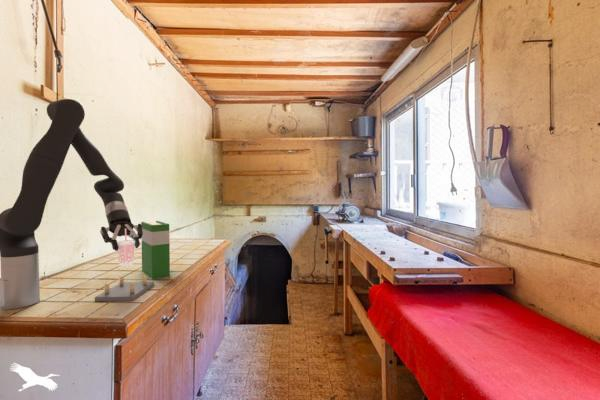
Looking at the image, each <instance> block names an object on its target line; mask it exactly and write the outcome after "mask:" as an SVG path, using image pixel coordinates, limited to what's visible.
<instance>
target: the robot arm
mask: <svg viewBox="0 0 600 400" xmlns="http://www.w3.org/2000/svg"><path fill="white" fill-rule="evenodd" d="M85 114H86V113H85V109H84V107H83V105H82V104H81V103H80V102H79V101H77V100H76V99H71V98H62V99H59V100H54V101H52V102H50V103H49V104H48V105H47V107H46V115H47V116H48V118H49V119H50V120H51V123H50V126H49V127H48V130H47V131H46V133H45V134H44V135H43V136H42V137H41V138H40V139H39V140H38V142H37V143H36V144H35V145H34V147H33V148H32V149H31V152H30V153H29V156H28V157H27V159H26V162H25V164H24V166H23V170H22V178H21V187H20V192H19V194H18V196H17V198H16V200H15V203H14V204H13V206H12V207H10V208H6V209H4V210H3V211H2V212H0V308H1V309H2V310H4V311H8V310H12V309H13V310H14V309H15V310H16V309H20V308H25V307H30V306H32V305H35V304H37V303H38V302H39V301H41V299H40V297H41V293H40V263H39V262H40V259H39V257H40V256H39V251H40V250H39V244H38V243H37V241H36V236H35V235H36V234H35V232H36V231H37V229H38V228H39V227H40V226H41V223H42V220H43V216H44V213H45V209H46V204H47V201H48V198H49V196H50V194H51V192H52V190H53V188H54V186H55V183H56V181H57V179H58V177H59V175H60V172H61V171H62V168H63V166H64V163H65V160H66V158H67V155H68V153H69V149H70V147H71V145H72V148H73V149H74V150H75V152H76V153H77V154H78V157H80V159H81V161H82V163H83V164H84V165H85V167H86V169H87V170H88V172H89V174H90V175H91V176H95V177H97V176H98V177H99V176H106V178H103V179H100V180H97V181H95V183H94V185H93V188H94V191H95V192H96V193H97V195H98V196H99V197H100V199H101V200H102V202H103V206H104V211H105V217H106V220H107V224H108V227H107V226H106V227H105V226H101V227H100V231H99V233H100V235H101V237H102V239H103V241H104V243H106V244H107V243H110V245H111V248H112V249H113V250H114V251H115V252H118V248H119V247H118V243H117V242H118V240H117V237H125V228H126V236H127V237H128V238H130V239H131V240H135V243H134V249H139V247H140V245H141V242H140V240H142V235H143V232H142V225H141V223H138V224H133V223H132V219H131V216H130V214H129V210H128V207H127V205H126V203H125V200H124V197H123V195H122V194H121V193H120V192H122V191H123V190H124V188H125V182H124V181H123V179H122V178H121V177H119V176H118V175H117V174H116V173H115V171H113V170H112V169H111V167H110V166H109V164H108V163H107V161H106V160H105V157H104V156H103V154H102V153H101V152H100V151H101V150H99V149H98V147H96V146H95V144H93V143H92V142H91V141H90V140H89V138H88V137H87V136H86V135H85V134H84V132H83V131H82V128H80V126H81V125H82V123H83V121H84V119H85ZM108 232H110V233H112V237H110V234H108ZM136 232H137V233H136Z"/></svg>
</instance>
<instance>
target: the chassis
mask: <svg viewBox="0 0 600 400" xmlns="http://www.w3.org/2000/svg"><path fill="white" fill-rule="evenodd" d="M147 276H148V275H143V276H142V281H124V279H125V278H124V275H120V276H119V283H118V284H116V285H115V286H112V287H111V288H110V282H109V283H108V282H107V283H104V292H102V293H100V294H98V295H96V296H94V302H132V301H134V300H136V299H137V298H139V297H140V296H142V295H143V294H144V293H146V292H147V291H149V290H150V289H151V288H153V287H154V286H155V281H148V279H147V278H148V277H147ZM148 289H149V290H148Z"/></svg>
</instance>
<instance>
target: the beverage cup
mask: <svg viewBox="0 0 600 400" xmlns="http://www.w3.org/2000/svg"><path fill="white" fill-rule="evenodd" d="M127 237H128V236H126V228H125V236H124V240H120V241H117V243H118V247H119V248H118V251H117V255H118V264H119V267H130V266H133V265H134V262H135V261H134V259H135V245H134V243H135V240H133V239H129V240H127Z"/></svg>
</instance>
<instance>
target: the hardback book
mask: <svg viewBox="0 0 600 400" xmlns="http://www.w3.org/2000/svg"><path fill="white" fill-rule="evenodd" d="M140 224H141V225H142V232H143V235H142V238H141V271H142V272H143V273H144V274H145V276H148V277H149V278H150V279H151V280H157V279H162V278H166V277H170V276H171V269H170V267H171V266H170V264H171V263H170V261H171V259H170V247H171V246H170V244H171V243H170V223H167V222H163V221H160V220H156V221H155V222H145V221H141V222H140Z"/></svg>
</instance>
